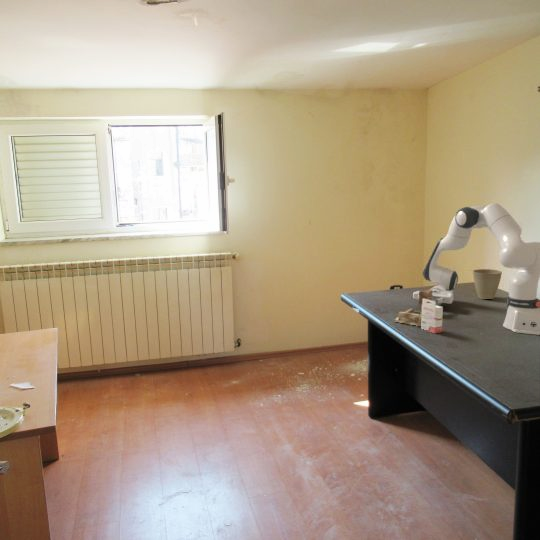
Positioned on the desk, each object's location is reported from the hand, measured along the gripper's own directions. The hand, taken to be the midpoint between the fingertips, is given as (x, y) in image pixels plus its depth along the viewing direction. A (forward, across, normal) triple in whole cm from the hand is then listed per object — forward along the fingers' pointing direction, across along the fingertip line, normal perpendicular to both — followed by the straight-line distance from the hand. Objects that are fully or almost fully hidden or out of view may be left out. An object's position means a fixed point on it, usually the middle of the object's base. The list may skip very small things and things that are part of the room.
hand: (427, 300), depth 244 cm
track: (+19, 0, +6) cm, 20 cm away
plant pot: (-45, +18, +7) cm, 49 cm away
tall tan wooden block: (+3, 0, +6) cm, 7 cm away
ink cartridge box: (+29, +12, +7) cm, 32 cm away
